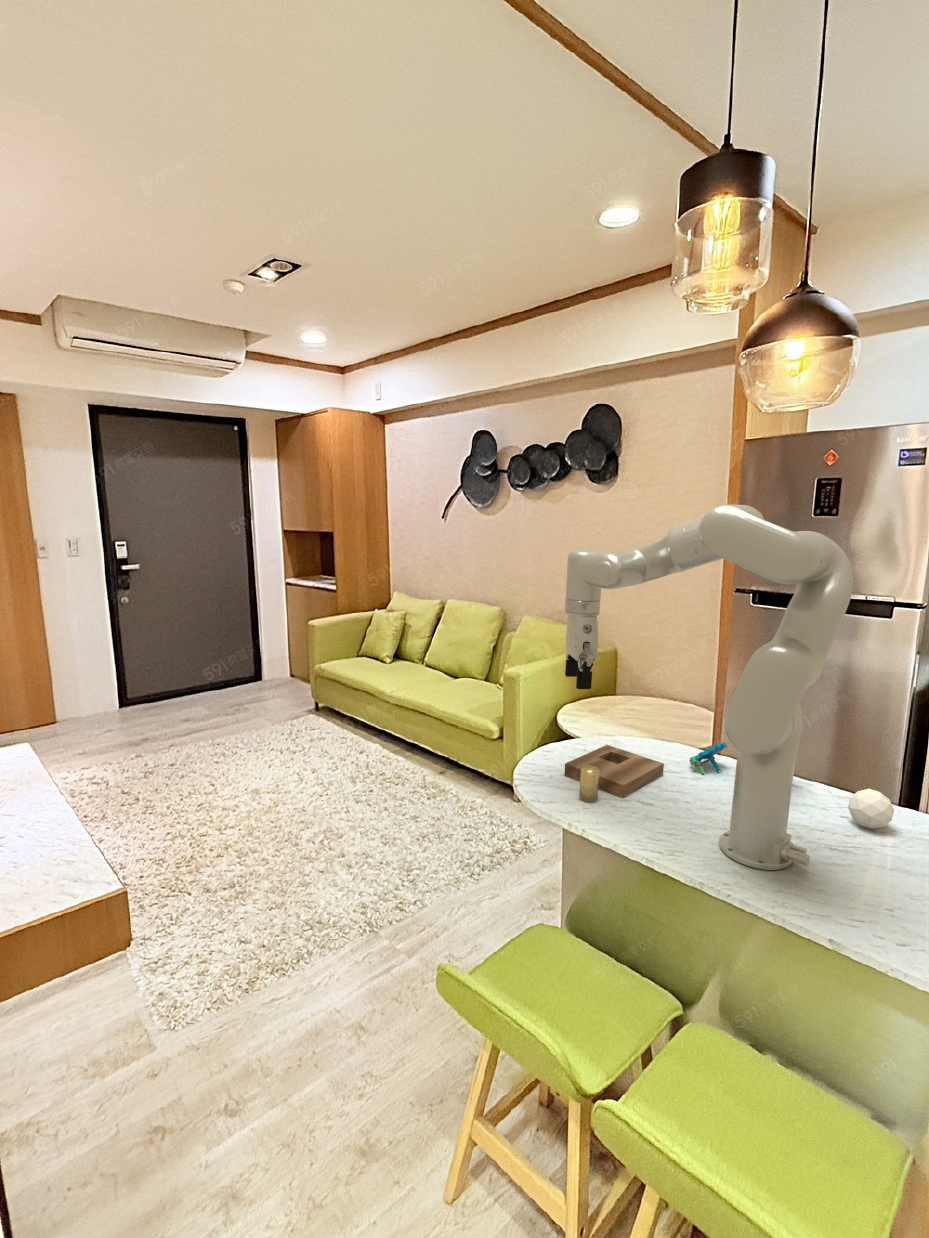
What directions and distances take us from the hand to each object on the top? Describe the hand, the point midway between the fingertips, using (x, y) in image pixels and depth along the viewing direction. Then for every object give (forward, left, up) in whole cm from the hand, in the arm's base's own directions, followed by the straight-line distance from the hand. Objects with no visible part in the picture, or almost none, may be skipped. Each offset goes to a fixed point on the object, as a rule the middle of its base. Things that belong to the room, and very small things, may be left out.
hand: (577, 682), depth 140 cm
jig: (-3, -12, -25) cm, 28 cm away
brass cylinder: (-6, +3, -25) cm, 26 cm away
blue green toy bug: (-16, -33, -25) cm, 45 cm away
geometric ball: (-52, -30, -25) cm, 65 cm away
